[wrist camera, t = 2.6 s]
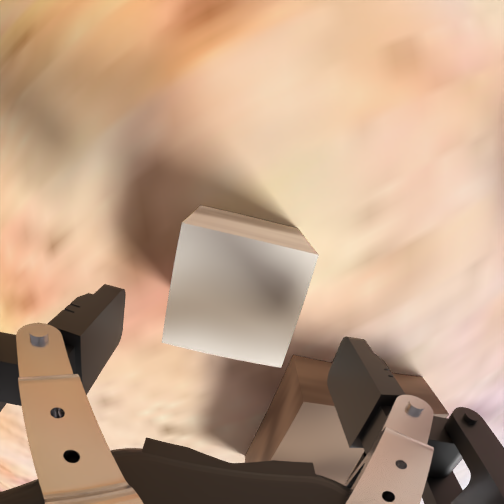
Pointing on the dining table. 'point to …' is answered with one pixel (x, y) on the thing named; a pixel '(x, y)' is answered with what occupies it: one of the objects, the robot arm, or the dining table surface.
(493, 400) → the dining table surface
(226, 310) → the ash cube
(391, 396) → the robot arm
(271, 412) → the walnut block
